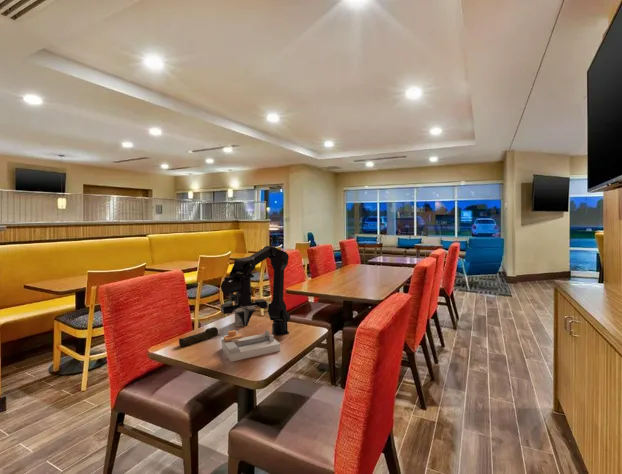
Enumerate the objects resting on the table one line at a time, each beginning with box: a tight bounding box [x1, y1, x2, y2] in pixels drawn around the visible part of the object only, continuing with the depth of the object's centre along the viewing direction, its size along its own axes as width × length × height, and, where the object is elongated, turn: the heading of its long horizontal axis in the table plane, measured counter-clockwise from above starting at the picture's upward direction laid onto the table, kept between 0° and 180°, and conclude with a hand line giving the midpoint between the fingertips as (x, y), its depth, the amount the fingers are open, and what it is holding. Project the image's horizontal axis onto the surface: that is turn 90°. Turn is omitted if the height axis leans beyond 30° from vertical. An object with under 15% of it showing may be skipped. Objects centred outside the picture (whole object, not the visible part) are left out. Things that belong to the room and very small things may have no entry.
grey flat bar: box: [235, 336, 269, 347], centre depth 141 cm, size 15×4×1 cm, turn 118°
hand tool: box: [178, 326, 219, 348], centre depth 152 cm, size 19×4×5 cm, turn 136°
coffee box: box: [234, 293, 246, 327], centre depth 176 cm, size 9×6×16 cm
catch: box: [223, 329, 243, 341], centre depth 143 cm, size 7×4×3 cm, turn 118°
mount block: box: [220, 330, 281, 362], centre depth 141 cm, size 21×15×6 cm
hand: (245, 326), depth 139 cm, fingers closed
